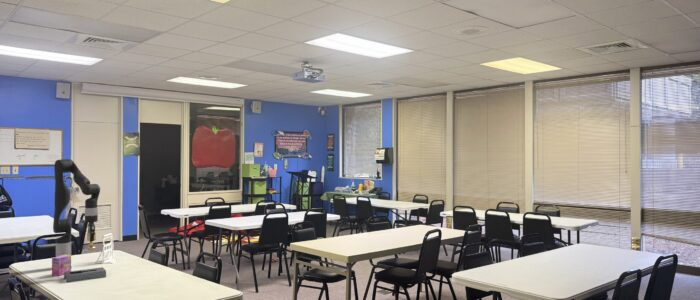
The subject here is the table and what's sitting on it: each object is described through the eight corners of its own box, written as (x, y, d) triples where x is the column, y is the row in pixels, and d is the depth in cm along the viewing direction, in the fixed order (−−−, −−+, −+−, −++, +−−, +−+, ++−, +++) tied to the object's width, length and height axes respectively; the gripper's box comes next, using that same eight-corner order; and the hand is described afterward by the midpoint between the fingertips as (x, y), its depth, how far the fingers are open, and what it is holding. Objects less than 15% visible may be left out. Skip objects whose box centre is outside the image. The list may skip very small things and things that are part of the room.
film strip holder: (113, 263, 348) (113, 235, 348) (94, 263, 348) (94, 235, 348) (123, 259, 362) (123, 232, 362) (104, 259, 362) (104, 232, 363)
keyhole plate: (66, 282, 296) (66, 275, 296) (64, 278, 306) (64, 272, 306) (106, 276, 309) (106, 270, 309) (102, 273, 318) (102, 267, 318)
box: (59, 276, 311) (59, 257, 311) (51, 276, 312) (51, 257, 313) (71, 272, 321) (71, 254, 322) (64, 272, 323) (64, 254, 323)
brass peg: (86, 248, 319) (86, 232, 320) (95, 247, 322) (94, 231, 323) (87, 249, 315) (87, 233, 316) (96, 248, 318) (96, 232, 318)
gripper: (83, 214, 323) (83, 239, 322) (86, 216, 311) (86, 242, 311) (95, 213, 327) (95, 238, 327) (99, 215, 316) (99, 241, 315)
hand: (91, 240), depth 319 cm, fingers closed on brass peg, 4 cm apart
